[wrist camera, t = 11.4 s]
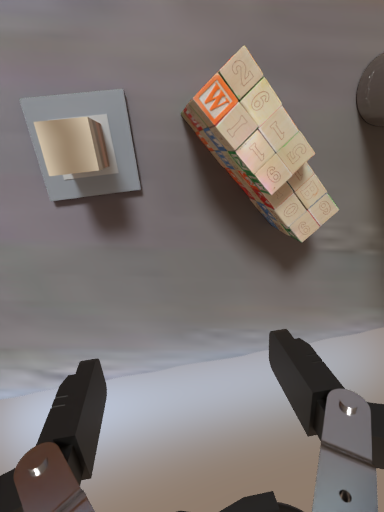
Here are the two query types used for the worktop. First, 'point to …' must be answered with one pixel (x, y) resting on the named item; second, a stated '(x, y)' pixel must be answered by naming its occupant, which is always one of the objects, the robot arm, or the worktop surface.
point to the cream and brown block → (72, 145)
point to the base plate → (115, 136)
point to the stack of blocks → (260, 146)
